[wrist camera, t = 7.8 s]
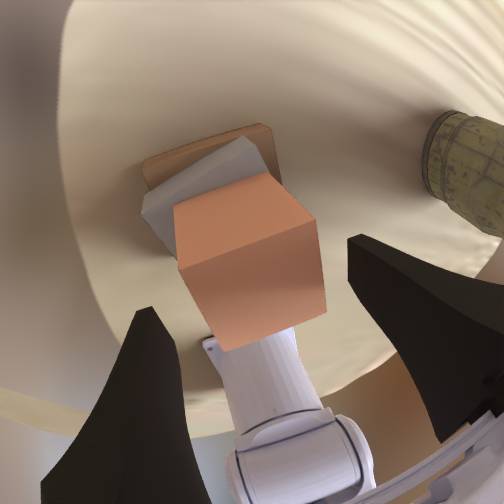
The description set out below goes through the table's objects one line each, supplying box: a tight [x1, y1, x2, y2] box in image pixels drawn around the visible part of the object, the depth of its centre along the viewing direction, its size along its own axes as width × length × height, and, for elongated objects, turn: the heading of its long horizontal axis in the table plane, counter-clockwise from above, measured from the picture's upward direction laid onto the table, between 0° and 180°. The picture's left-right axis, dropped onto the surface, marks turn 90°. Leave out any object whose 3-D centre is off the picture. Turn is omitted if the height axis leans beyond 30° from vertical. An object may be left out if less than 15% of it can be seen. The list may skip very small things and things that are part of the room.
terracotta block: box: [173, 172, 327, 352], centre depth 12 cm, size 4×4×5 cm
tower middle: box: [141, 136, 270, 261], centre depth 15 cm, size 6×6×2 cm
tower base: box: [142, 123, 282, 191], centre depth 17 cm, size 7×7×2 cm
